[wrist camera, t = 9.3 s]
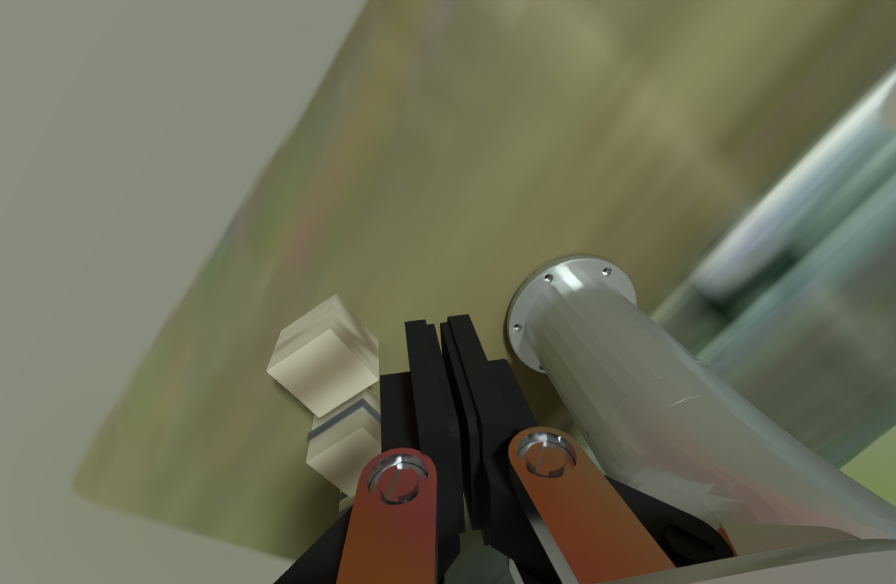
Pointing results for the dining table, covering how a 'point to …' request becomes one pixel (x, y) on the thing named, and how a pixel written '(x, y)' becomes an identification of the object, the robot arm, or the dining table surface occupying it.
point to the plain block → (325, 357)
